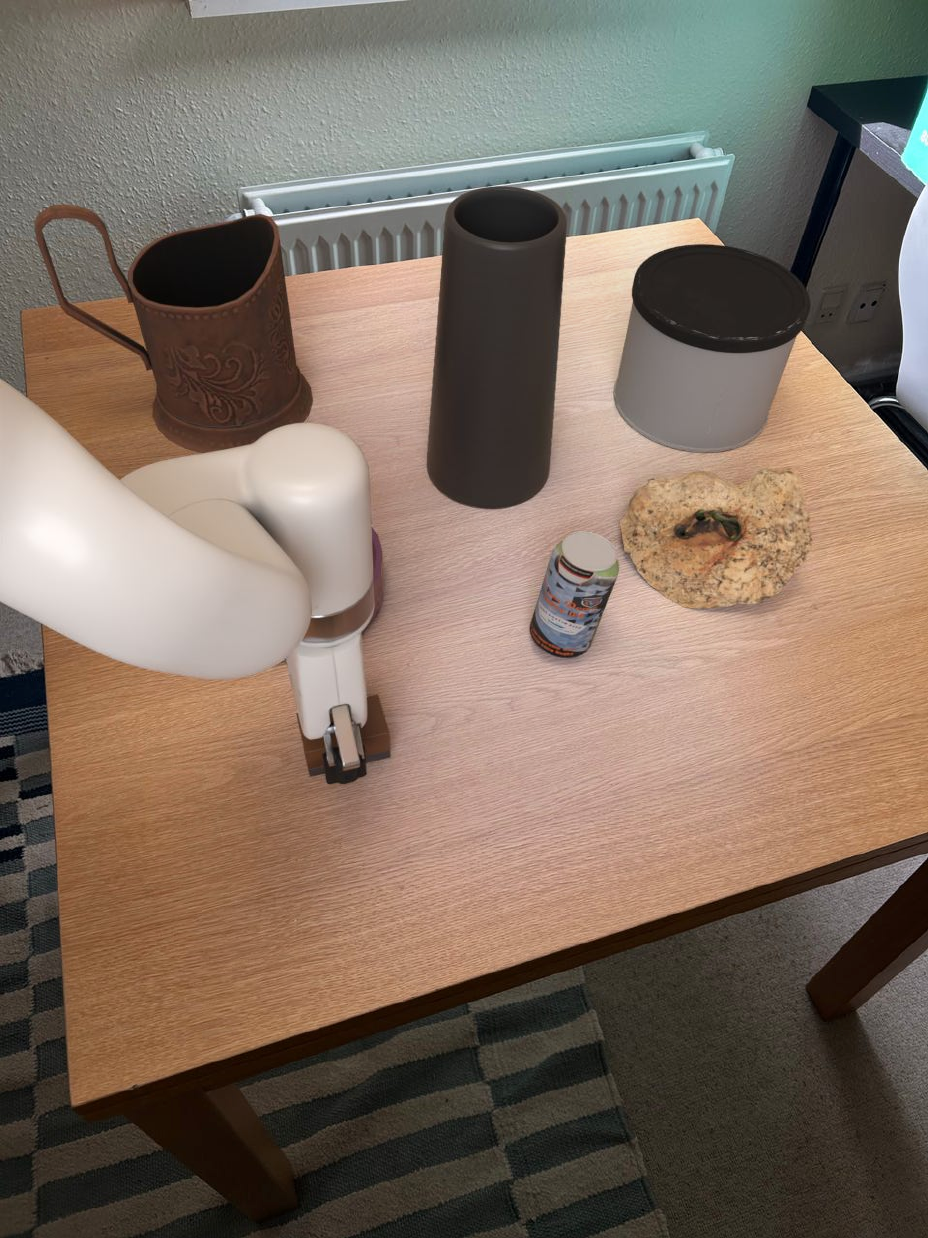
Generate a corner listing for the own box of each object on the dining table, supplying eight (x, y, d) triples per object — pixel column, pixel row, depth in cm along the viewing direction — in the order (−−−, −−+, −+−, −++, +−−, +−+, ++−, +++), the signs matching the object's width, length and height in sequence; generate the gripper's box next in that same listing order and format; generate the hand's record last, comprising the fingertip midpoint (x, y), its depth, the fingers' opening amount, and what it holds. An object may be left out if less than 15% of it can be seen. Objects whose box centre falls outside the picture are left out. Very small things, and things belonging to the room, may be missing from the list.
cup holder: (329, 436, 104) (307, 225, 84) (111, 479, 99) (33, 264, 79) (293, 342, 115) (266, 136, 95) (95, 377, 109) (22, 165, 90)
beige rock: (645, 641, 95) (633, 614, 88) (625, 520, 101) (613, 486, 94) (826, 608, 90) (828, 576, 84) (795, 483, 96) (795, 444, 89)
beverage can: (515, 640, 87) (526, 555, 77) (563, 598, 90) (579, 511, 81) (566, 678, 84) (584, 595, 75) (614, 633, 88) (637, 548, 78)
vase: (537, 519, 97) (572, 267, 74) (413, 496, 98) (410, 242, 76) (558, 437, 105) (595, 187, 83) (442, 417, 107) (448, 167, 84)
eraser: (309, 777, 77) (304, 753, 74) (301, 737, 79) (296, 712, 76) (390, 757, 79) (389, 733, 75) (379, 719, 81) (377, 693, 78)
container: (665, 471, 102) (696, 357, 90) (583, 374, 113) (602, 261, 101) (801, 429, 107) (847, 317, 96) (711, 341, 118) (743, 229, 106)
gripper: (244, 514, 67) (271, 655, 80) (285, 706, 56) (308, 831, 70) (346, 497, 68) (355, 638, 82) (403, 680, 58) (403, 808, 71)
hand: (333, 727), depth 76 cm, fingers open, 9 cm apart
